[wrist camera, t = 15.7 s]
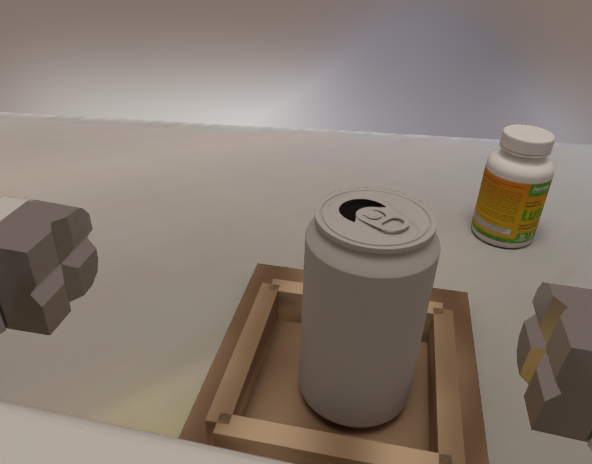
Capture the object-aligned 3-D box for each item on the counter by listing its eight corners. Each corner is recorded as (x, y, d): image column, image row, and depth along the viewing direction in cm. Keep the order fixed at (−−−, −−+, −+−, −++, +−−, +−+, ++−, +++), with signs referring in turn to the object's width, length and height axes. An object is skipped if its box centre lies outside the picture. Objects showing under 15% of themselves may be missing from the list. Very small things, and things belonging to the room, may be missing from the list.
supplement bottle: (518, 257, 44) (551, 151, 39) (460, 234, 47) (483, 133, 42) (541, 232, 48) (574, 132, 43) (485, 212, 51) (509, 116, 46)
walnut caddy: (130, 563, 23) (118, 520, 21) (257, 273, 41) (257, 236, 40) (505, 653, 21) (528, 614, 19) (464, 303, 39) (474, 265, 37)
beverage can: (350, 335, 34) (369, 170, 28) (430, 395, 30) (474, 218, 24) (275, 384, 31) (277, 206, 24) (356, 459, 27) (383, 270, 20)
